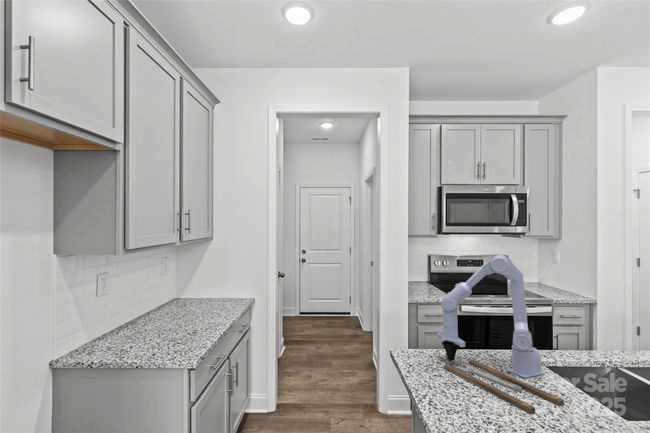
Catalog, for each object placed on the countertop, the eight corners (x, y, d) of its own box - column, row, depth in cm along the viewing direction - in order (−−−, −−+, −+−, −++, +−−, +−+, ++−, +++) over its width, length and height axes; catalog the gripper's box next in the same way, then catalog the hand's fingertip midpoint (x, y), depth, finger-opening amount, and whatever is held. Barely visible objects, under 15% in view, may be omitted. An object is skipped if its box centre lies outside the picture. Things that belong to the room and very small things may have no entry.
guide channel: (472, 363, 148) (472, 359, 148) (564, 405, 113) (564, 399, 113) (443, 368, 143) (443, 364, 143) (530, 414, 108) (529, 408, 108)
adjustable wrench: (523, 392, 123) (523, 387, 123) (510, 396, 120) (510, 391, 120) (464, 367, 145) (464, 362, 145) (452, 370, 142) (452, 365, 142)
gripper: (430, 323, 155) (431, 355, 155) (454, 331, 142) (455, 367, 141) (444, 321, 158) (445, 353, 157) (469, 329, 144) (470, 365, 144)
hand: (451, 360), depth 150 cm, fingers closed
